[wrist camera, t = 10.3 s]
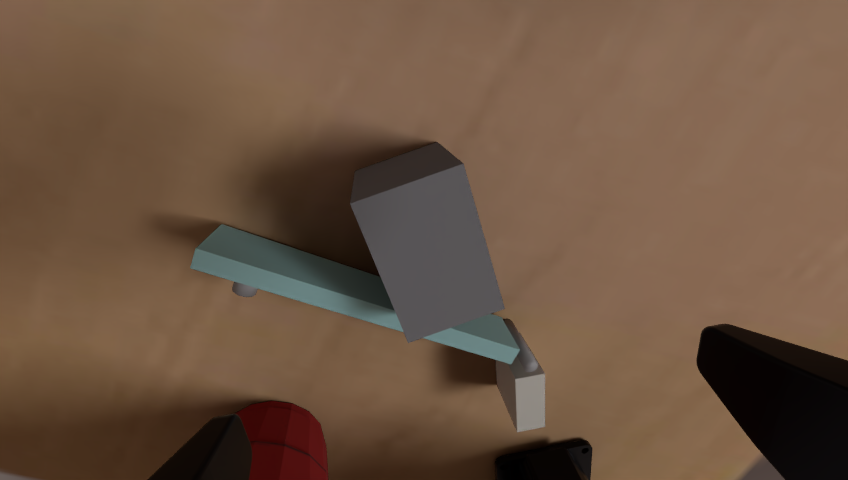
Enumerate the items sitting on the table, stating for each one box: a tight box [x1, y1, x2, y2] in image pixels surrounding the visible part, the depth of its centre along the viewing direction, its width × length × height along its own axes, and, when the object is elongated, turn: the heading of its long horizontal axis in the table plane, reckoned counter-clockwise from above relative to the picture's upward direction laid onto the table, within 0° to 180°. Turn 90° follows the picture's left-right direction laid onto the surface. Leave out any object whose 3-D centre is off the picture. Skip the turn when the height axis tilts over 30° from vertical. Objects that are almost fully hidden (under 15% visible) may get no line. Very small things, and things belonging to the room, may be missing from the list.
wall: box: [496, 319, 545, 432], centre depth 18 cm, size 24×2×4 cm, turn 7°
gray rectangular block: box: [350, 142, 505, 343], centre depth 17 cm, size 6×4×6 cm, turn 18°
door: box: [190, 224, 520, 364], centre depth 19 cm, size 15×2×3 cm, turn 66°
